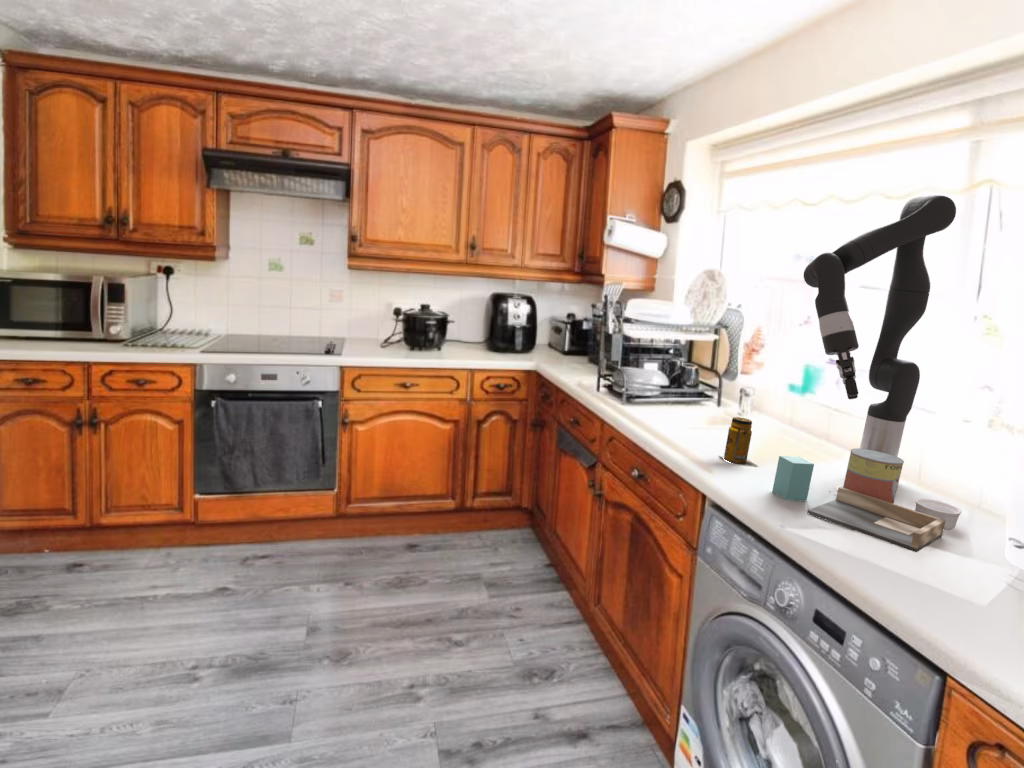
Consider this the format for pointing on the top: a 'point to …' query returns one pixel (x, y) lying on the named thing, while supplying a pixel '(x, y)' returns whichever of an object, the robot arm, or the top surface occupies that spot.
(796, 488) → the block
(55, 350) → the top surface
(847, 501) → the tray
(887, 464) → the canned food
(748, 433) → the condiment
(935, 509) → the ramekin
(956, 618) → the top surface
